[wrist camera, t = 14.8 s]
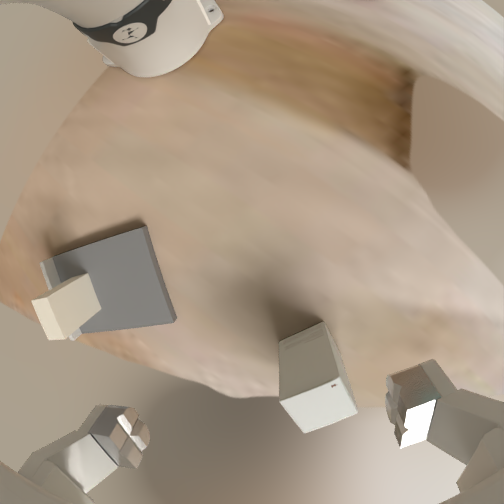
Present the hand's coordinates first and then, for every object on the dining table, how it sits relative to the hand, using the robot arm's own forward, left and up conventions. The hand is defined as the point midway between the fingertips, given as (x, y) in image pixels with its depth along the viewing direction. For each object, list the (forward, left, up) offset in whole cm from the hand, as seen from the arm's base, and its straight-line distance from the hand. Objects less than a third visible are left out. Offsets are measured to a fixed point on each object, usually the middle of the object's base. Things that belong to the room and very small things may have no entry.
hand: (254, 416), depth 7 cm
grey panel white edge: (+2, -26, -29) cm, 39 cm away
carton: (+2, -30, -28) cm, 41 cm away
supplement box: (+18, +2, -29) cm, 34 cm away
